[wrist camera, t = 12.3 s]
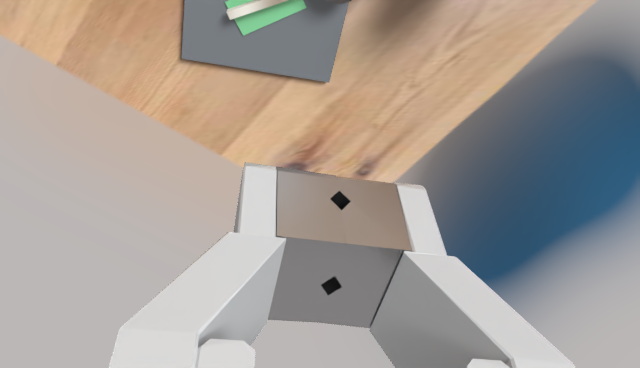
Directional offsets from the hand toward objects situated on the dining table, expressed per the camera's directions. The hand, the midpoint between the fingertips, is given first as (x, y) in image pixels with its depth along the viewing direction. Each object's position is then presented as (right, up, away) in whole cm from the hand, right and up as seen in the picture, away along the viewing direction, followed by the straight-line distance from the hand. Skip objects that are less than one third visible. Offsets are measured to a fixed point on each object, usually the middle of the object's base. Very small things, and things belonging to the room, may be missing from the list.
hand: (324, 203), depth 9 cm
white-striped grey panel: (-4, +16, +37) cm, 41 cm away
